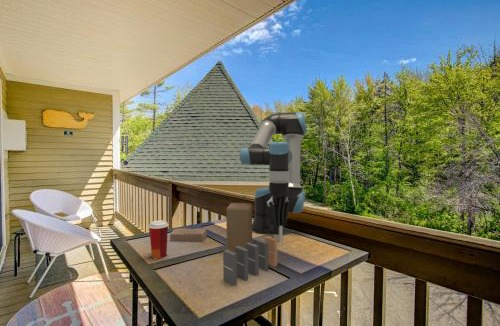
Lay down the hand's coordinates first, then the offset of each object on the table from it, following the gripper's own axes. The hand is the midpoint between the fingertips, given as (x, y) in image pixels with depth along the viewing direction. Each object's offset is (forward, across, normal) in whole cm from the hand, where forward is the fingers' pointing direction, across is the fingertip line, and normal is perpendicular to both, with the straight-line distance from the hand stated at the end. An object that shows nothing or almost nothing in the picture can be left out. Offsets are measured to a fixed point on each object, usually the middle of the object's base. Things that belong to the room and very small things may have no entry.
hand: (278, 241), depth 102 cm
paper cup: (+8, +32, -36) cm, 49 cm away
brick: (+8, +12, -47) cm, 49 cm away
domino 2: (+8, +19, 0) cm, 21 cm away
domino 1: (+8, +24, 0) cm, 25 cm away
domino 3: (+8, +14, 0) cm, 16 cm away
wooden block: (+8, +4, -18) cm, 20 cm away
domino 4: (+8, +9, 0) cm, 12 cm away
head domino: (+8, +4, 0) cm, 9 cm away
